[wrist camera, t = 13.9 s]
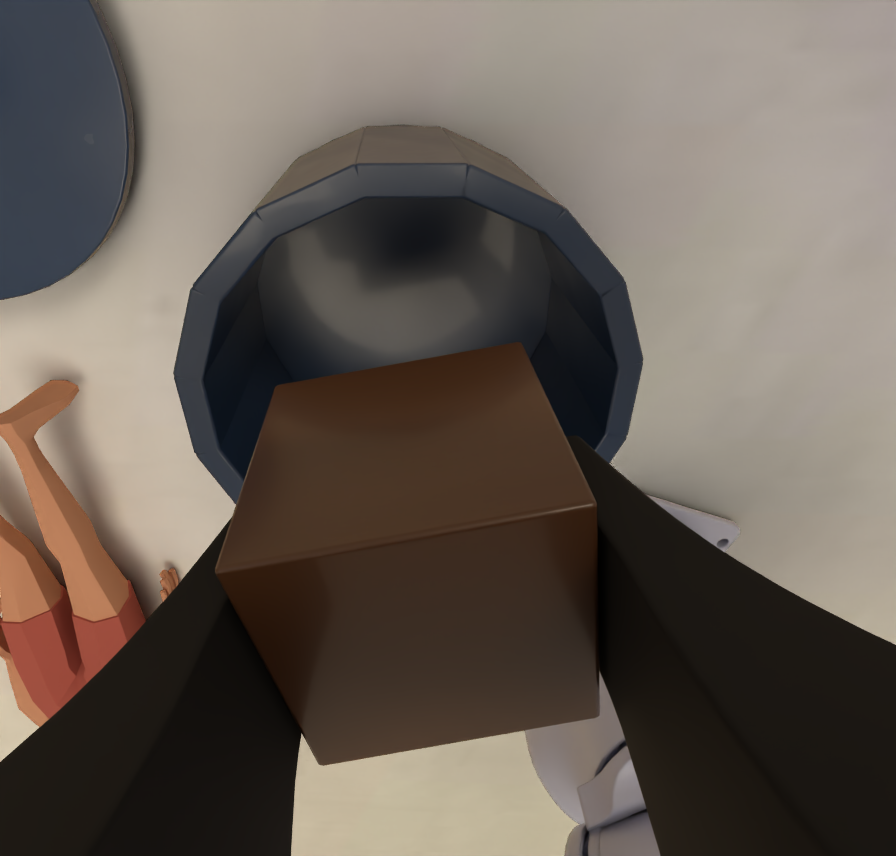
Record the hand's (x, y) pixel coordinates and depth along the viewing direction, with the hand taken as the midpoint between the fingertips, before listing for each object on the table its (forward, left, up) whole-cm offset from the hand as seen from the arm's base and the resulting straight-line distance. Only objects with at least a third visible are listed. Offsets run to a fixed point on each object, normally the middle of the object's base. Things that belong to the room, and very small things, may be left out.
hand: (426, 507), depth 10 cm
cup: (0, 0, -10) cm, 10 cm away
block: (0, 0, -1) cm, 1 cm away
